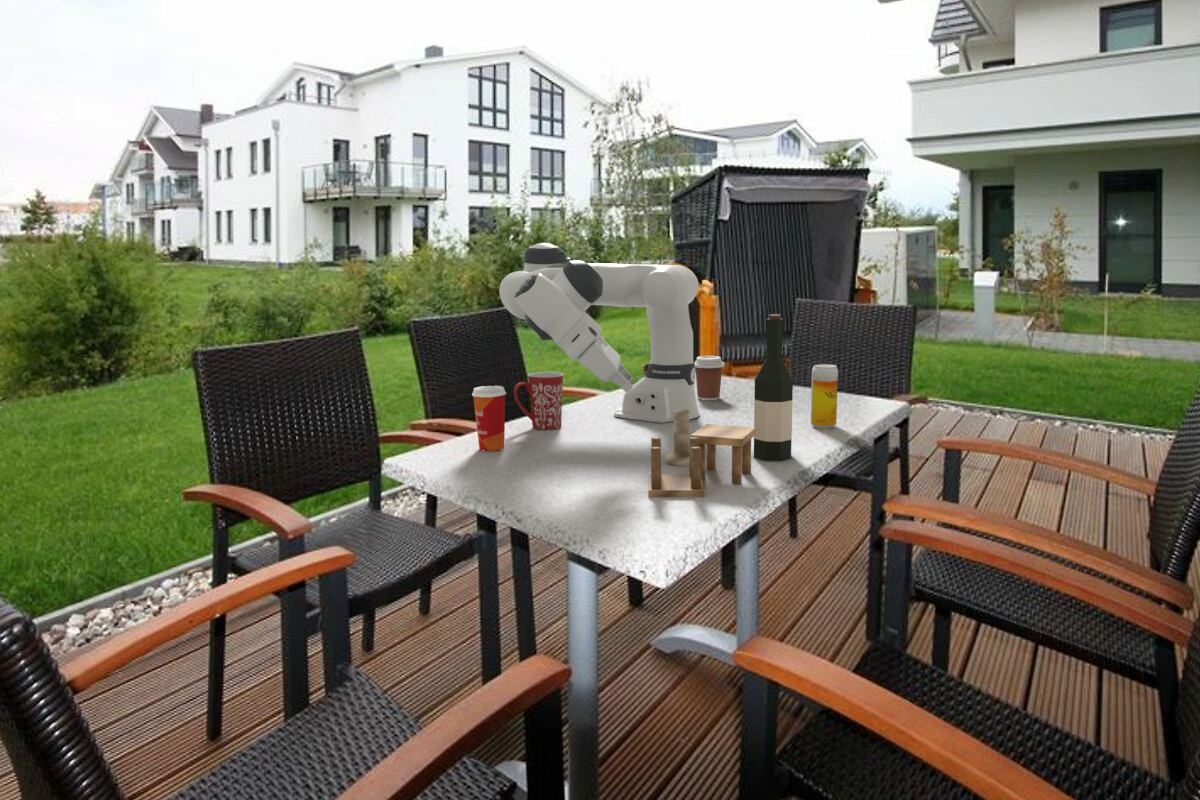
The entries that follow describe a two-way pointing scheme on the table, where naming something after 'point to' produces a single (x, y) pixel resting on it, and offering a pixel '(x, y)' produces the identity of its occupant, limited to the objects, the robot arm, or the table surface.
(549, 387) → the mug
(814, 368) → the beer can
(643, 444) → the table surface
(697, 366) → the coffee cup
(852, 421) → the table surface
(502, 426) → the paper cup
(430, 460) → the table surface
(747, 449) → the stool
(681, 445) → the ring stacker tower
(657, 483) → the upturned stool
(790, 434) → the wine bottle
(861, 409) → the table surface
